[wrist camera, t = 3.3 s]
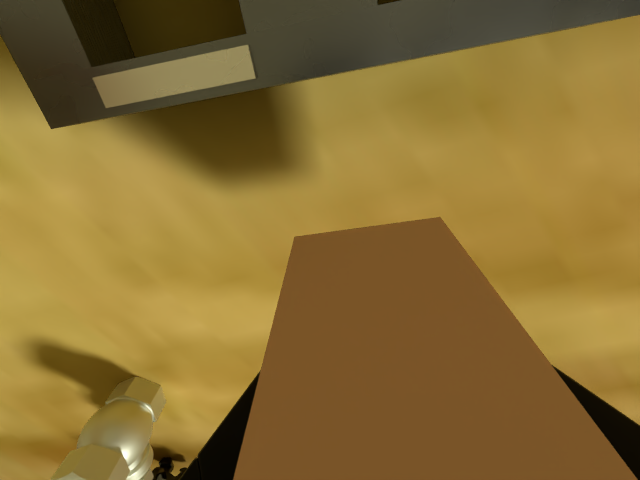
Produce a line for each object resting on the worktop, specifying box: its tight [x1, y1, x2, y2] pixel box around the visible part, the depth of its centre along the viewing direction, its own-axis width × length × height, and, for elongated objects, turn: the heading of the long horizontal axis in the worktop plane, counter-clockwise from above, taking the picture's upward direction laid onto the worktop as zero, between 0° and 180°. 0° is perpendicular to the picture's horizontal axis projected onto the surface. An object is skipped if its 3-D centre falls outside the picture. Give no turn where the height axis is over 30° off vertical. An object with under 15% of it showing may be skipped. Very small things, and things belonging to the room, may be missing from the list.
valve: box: [51, 377, 187, 480], centre depth 23 cm, size 7×7×12 cm
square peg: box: [233, 217, 638, 480], centre depth 7 cm, size 4×4×8 cm
